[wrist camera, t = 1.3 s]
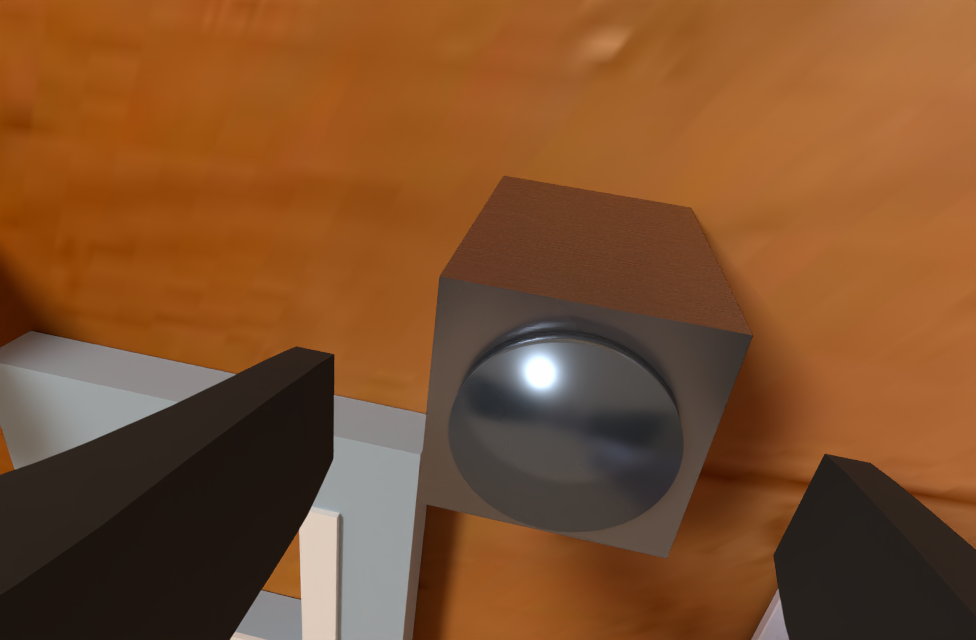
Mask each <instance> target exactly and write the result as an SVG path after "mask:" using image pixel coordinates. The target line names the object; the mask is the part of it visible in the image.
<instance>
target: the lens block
mask: <svg viewBox="0 0 976 640" xmlns="http://www.w3.org/2000/svg"><path fill="white" fill-rule="evenodd" d="M752 337H753V334H752V332H751V330H750V328H749V326H748V324H747V322H746V320H745V318H744V316H743V314H742V312H741V310H740V308H739V306H738V304H737V302H736V299H735V297H734V295H733V293H732V291H731V289H730V287H729V285H728V283H727V281H726V279H725V277H724V275H723V273H722V271H721V269H720V267H719V264H718V262H717V260H716V258H715V256H714V254H713V252H712V250H711V248H710V246H709V244H708V242H707V240H706V238H705V236H704V234H703V231H702V229H701V227H700V225H699V223H698V221H697V219H696V217H695V215H694V213H693V211H692V209H691V208H690V207H684V206H678V205H672V204H666V203H660V202H654V201H649V200H643V199H637V198H631V197H625V196H619V195H613V194H608V193H602V192H596V191H590V190H584V189H578V188H572V187H567V186H561V185H555V184H549V183H543V182H537V181H532V180H526V179H520V178H514V177H508V176H503V178H502V179H501V181H500V182H499V184H498V186H497V187H496V189H495V190H494V192H493V193H492V195H491V197H490V198H489V200H488V201H487V203H486V204H485V206H484V208H483V209H482V211H481V212H480V214H479V215H478V217H477V219H476V220H475V222H474V223H473V225H472V226H471V228H470V230H469V231H468V233H467V234H466V236H465V237H464V239H463V241H462V242H461V244H460V245H459V247H458V248H457V250H456V252H455V253H454V255H453V256H452V258H451V259H450V261H449V263H448V264H447V266H446V267H445V269H444V270H443V272H442V274H441V275H440V278H439V288H438V299H437V309H436V319H435V329H434V340H433V350H432V360H431V370H430V380H429V391H428V401H427V411H426V421H425V432H424V442H423V452H422V462H421V473H420V483H419V493H418V503H422V504H426V505H431V506H435V507H440V508H444V509H449V510H453V511H458V512H462V513H466V514H471V515H475V516H480V517H484V518H489V519H493V520H498V521H502V522H506V523H511V524H515V525H520V526H524V527H529V528H533V529H538V530H542V531H546V532H551V533H555V534H560V535H564V536H569V537H573V538H578V539H582V540H586V541H591V542H595V543H600V544H604V545H609V546H613V547H618V548H622V549H626V550H631V551H635V552H640V553H644V554H649V555H653V556H658V557H662V558H666V559H667V557H668V555H669V552H670V550H671V547H672V544H673V542H674V539H675V537H676V534H677V531H678V529H679V526H680V524H681V521H682V518H683V516H684V513H685V511H686V508H687V505H688V503H689V500H690V498H691V495H692V492H693V490H694V487H695V485H696V482H697V479H698V477H699V474H700V472H701V469H702V466H703V464H704V461H705V459H706V456H707V453H708V451H709V448H710V446H711V443H712V440H713V438H714V435H715V433H716V430H717V427H718V425H719V422H720V420H721V417H722V414H723V412H724V409H725V407H726V404H727V401H728V399H729V396H730V394H731V391H732V389H733V386H734V383H735V381H736V378H737V376H738V373H739V370H740V368H741V365H742V363H743V360H744V357H745V355H746V352H747V350H748V347H749V344H750V342H751V339H752Z"/></svg>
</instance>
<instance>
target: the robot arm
mask: <svg viewBox="0 0 976 640" xmlns="http://www.w3.org/2000/svg"><path fill="white" fill-rule="evenodd" d="M333 459H334V354H330V353H325V352H320V351H315V350H310V349H306V348H301V347H294V348H292V349H289V350H287V351H284V352H282V353H280V354H278V355H275V356H273V357H271V358H269V359H267V360H265V361H263V362H261V363H259V364H257V365H254V366H252V367H250V368H248V369H246V370H244V371H242V372H240V373H238V374H236V375H234V376H232V377H230V378H228V379H226V380H224V381H222V382H220V383H218V384H216V385H213V386H211V387H209V388H207V389H205V390H203V391H201V392H199V393H197V394H195V395H193V396H191V397H188V398H186V399H184V400H182V401H180V402H178V403H176V404H174V405H172V406H170V407H167V408H165V409H163V410H161V411H158V412H156V413H154V414H151V415H149V416H147V417H144V418H142V419H140V420H138V421H135V422H133V423H131V424H128V425H126V426H124V427H121V428H119V429H117V430H115V431H112V432H110V433H108V434H105V435H103V436H101V437H98V438H96V439H94V440H92V441H89V442H87V443H84V444H82V445H79V446H77V447H74V448H72V449H69V450H67V451H64V452H62V453H59V454H56V455H54V456H51V457H49V458H46V459H43V460H41V461H38V462H35V463H32V464H30V465H27V466H24V467H21V468H18V469H16V470H13V471H10V472H7V473H4V474H2V475H0V640H230V639H231V637H232V636H233V634H234V633H235V631H236V630H237V628H238V626H239V625H240V623H241V622H242V620H243V618H244V617H245V615H246V614H247V612H248V610H249V609H250V607H251V606H252V604H253V602H254V601H255V599H256V598H257V596H258V595H259V593H260V591H261V590H262V588H263V587H264V585H265V583H266V582H267V580H268V579H269V577H270V575H271V574H272V572H273V571H274V569H275V568H276V566H277V564H278V563H279V561H280V560H281V558H282V556H283V555H284V553H285V551H286V550H287V548H288V547H289V545H290V543H291V542H292V540H293V539H294V537H295V535H296V534H297V532H298V530H299V529H300V527H301V526H302V524H303V522H304V521H305V519H306V517H307V515H308V513H309V511H310V509H311V507H312V505H313V503H314V501H315V499H316V497H317V495H318V492H319V490H320V488H321V486H322V484H323V481H324V479H325V477H326V475H327V473H328V470H329V468H330V466H331V464H332V461H333ZM774 562H775V569H776V575H777V582H778V590H777V592H776V594H775V595H774V597H773V599H772V601H771V603H770V605H769V607H768V609H767V611H766V612H765V614H764V616H763V618H762V620H761V622H760V624H759V626H758V628H757V629H756V631H755V633H754V635H753V637H752V639H751V640H976V550H975V549H974V548H973V547H972V546H971V545H970V544H968V543H967V542H966V541H965V540H964V539H963V538H961V537H960V536H959V535H958V534H957V533H956V532H954V531H953V530H952V529H951V528H950V527H949V526H947V525H946V524H945V523H944V522H943V521H942V520H940V519H939V518H938V517H937V516H936V515H935V514H933V513H932V512H931V511H930V510H929V509H928V508H926V507H925V506H924V505H923V504H922V503H920V502H919V501H918V500H917V499H916V498H914V497H913V496H912V495H911V494H910V493H908V492H907V491H906V490H905V489H904V488H902V487H901V486H900V485H899V484H897V483H896V482H895V481H894V480H892V479H891V478H890V477H888V476H887V475H886V474H885V473H883V472H882V471H881V470H879V469H878V468H876V467H875V466H874V465H872V464H871V463H868V462H863V461H858V460H853V459H848V458H843V457H838V456H833V455H828V454H825V455H824V457H823V458H822V460H821V462H820V464H819V466H818V468H817V470H816V472H815V474H814V476H813V478H812V480H811V482H810V484H809V486H808V488H807V490H806V492H805V494H804V496H803V498H802V500H801V502H800V504H799V506H798V508H797V510H796V512H795V514H794V516H793V518H792V520H791V522H790V524H789V526H788V528H787V530H786V532H785V534H784V536H783V537H782V539H781V541H780V543H779V545H778V547H777V549H776V551H775V553H774Z"/></svg>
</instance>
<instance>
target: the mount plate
mask: <svg viewBox="0 0 976 640" xmlns="http://www.w3.org/2000/svg"><path fill="white" fill-rule="evenodd" d="M234 375H236V374H233V373H228V372H223V371H219V370H214V369H209V368H204V367H200V366H195V365H190V364H186V363H181V362H176V361H171V360H167V359H162V358H157V357H152V356H148V355H143V354H138V353H133V352H129V351H124V350H119V349H115V348H110V347H105V346H100V345H96V344H91V343H86V342H81V341H77V340H72V339H67V338H62V337H58V336H53V335H48V334H43V333H39V332H34V331H30V332H28V333H26V334H24V335H22V336H20V337H19V338H17V339H15V340H13V341H11V342H9V343H7V344H6V345H4V346H2V347H0V425H1V428H2V431H3V434H4V437H5V441H6V444H7V447H8V450H9V453H10V456H11V459H12V463H13V466H14V469H15V470H16V469H18V468H21V467H24V466H27V465H30V464H32V463H35V462H38V461H41V460H43V459H46V458H49V457H51V456H54V455H56V454H59V453H62V452H64V451H67V450H69V449H72V448H74V447H77V446H79V445H82V444H84V443H87V442H89V441H92V440H94V439H96V438H98V437H101V436H103V435H105V434H108V433H110V432H112V431H115V430H117V429H119V428H121V427H124V426H126V425H128V424H131V423H133V422H135V421H138V420H140V419H142V418H144V417H147V416H149V415H151V414H154V413H156V412H158V411H161V410H163V409H165V408H167V407H170V406H172V405H174V404H176V403H178V402H180V401H182V400H184V399H186V398H188V397H191V396H193V395H195V394H197V393H199V392H201V391H203V390H205V389H207V388H209V387H211V386H213V385H216V384H218V383H220V382H222V381H224V380H226V379H228V378H230V377H232V376H234ZM425 421H426V414H422V413H418V412H413V411H408V410H403V409H399V408H394V407H389V406H384V405H380V404H375V403H370V402H365V401H361V400H356V399H351V398H347V397H342V396H337V395H334V459H333V461H332V464H331V466H330V468H329V470H328V473H327V475H326V477H325V479H324V481H323V484H322V486H321V488H320V490H319V492H318V495H317V497H316V499H315V501H314V503H313V505H312V507H311V509H310V511H309V513H308V515H307V517H306V519H305V521H304V522H303V524H302V526H301V527H300V529H299V535H300V570H301V600H299V599H295V598H291V597H287V596H283V595H279V594H275V593H271V592H267V591H263V590H261V591H260V593H259V595H258V596H257V598H256V599H255V601H254V602H253V604H252V606H251V607H250V609H249V610H248V612H247V614H246V615H245V617H244V618H243V620H242V622H241V623H240V625H239V626H238V628H237V630H236V631H235V633H234V634H233V636H232V637H231V639H230V640H412V639H413V630H414V620H415V611H416V602H417V593H418V583H419V574H420V565H421V555H422V546H423V537H424V528H425V518H426V509H427V505H426V504H422V503H418V493H419V483H420V473H421V462H422V452H423V442H424V432H425Z"/></svg>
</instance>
